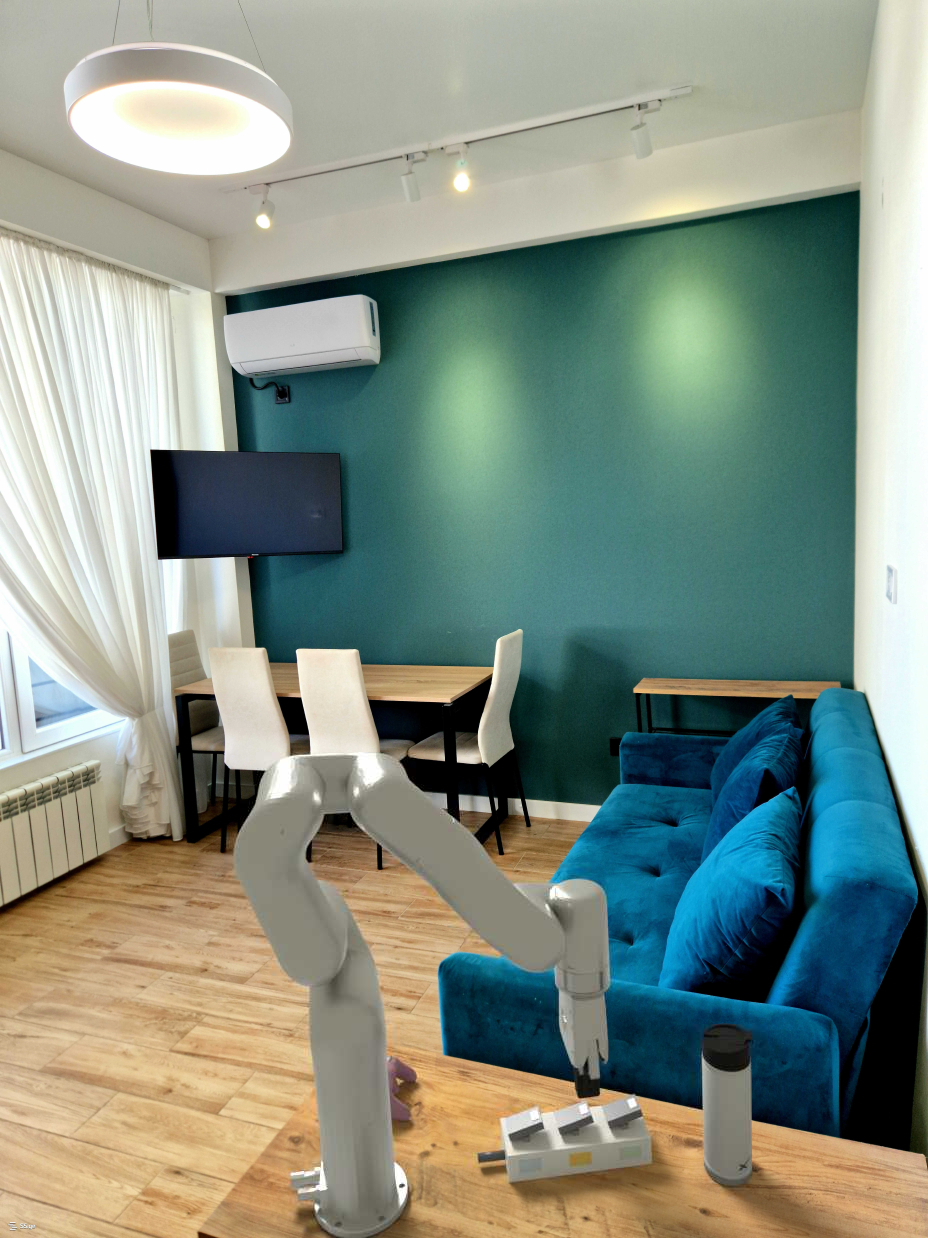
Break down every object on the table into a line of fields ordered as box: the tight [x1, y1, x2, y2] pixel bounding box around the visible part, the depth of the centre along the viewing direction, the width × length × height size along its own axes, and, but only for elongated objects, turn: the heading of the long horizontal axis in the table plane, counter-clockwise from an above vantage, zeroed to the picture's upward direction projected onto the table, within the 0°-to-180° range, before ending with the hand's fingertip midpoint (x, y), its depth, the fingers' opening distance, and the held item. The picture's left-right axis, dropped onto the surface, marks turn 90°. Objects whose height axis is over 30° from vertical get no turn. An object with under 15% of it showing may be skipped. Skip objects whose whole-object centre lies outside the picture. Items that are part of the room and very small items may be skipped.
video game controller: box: [387, 1055, 418, 1122], centre depth 127 cm, size 10×5×7 cm, turn 177°
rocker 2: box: [601, 1093, 644, 1129], centre depth 115 cm, size 5×3×1 cm, turn 95°
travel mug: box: [701, 1023, 754, 1187], centre depth 109 cm, size 6×7×20 cm
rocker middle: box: [552, 1099, 594, 1135], centre depth 114 cm, size 5×3×1 cm, turn 95°
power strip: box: [476, 1104, 653, 1184], centre depth 114 cm, size 24×7×5 cm, turn 96°
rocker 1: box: [504, 1105, 545, 1141], centre depth 114 cm, size 5×3×1 cm, turn 95°
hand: (587, 1093), depth 114 cm, fingers closed
